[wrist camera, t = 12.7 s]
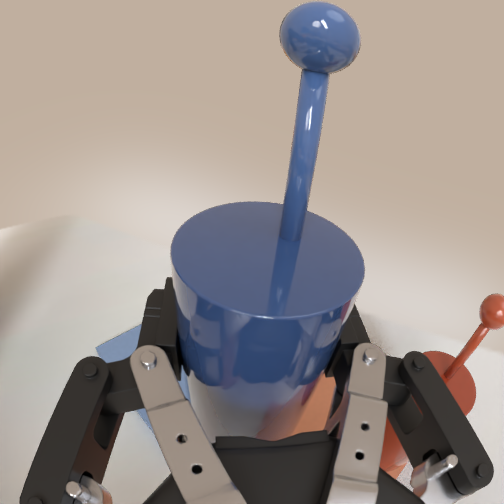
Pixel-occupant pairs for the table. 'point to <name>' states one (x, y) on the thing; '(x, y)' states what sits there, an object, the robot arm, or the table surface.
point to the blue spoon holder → (270, 269)
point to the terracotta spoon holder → (450, 377)
